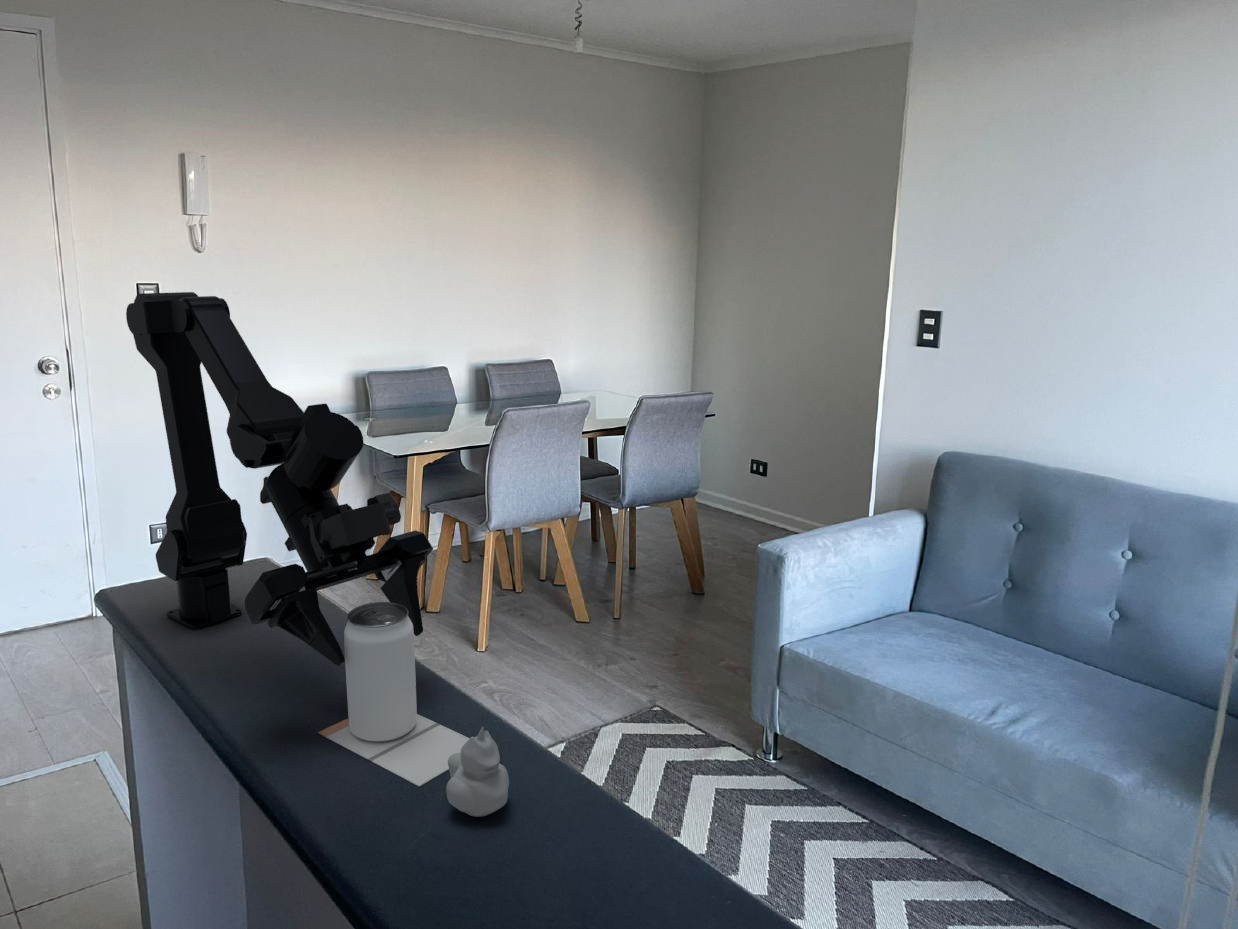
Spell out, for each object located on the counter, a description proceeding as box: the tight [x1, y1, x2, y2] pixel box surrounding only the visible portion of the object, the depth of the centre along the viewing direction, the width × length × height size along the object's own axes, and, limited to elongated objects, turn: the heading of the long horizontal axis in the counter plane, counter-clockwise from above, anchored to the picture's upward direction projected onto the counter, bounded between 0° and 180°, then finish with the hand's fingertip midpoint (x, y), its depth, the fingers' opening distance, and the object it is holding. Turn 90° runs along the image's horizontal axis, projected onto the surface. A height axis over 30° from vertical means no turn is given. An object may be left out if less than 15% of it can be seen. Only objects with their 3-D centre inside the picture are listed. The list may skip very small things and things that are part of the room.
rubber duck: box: [445, 726, 510, 818], centre depth 81 cm, size 5×7×8 cm
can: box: [343, 601, 418, 743], centre depth 92 cm, size 6×6×12 cm
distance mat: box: [317, 713, 471, 788], centre depth 92 cm, size 14×8×1 cm, turn 54°
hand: (382, 648), depth 92 cm, fingers open, 9 cm apart
